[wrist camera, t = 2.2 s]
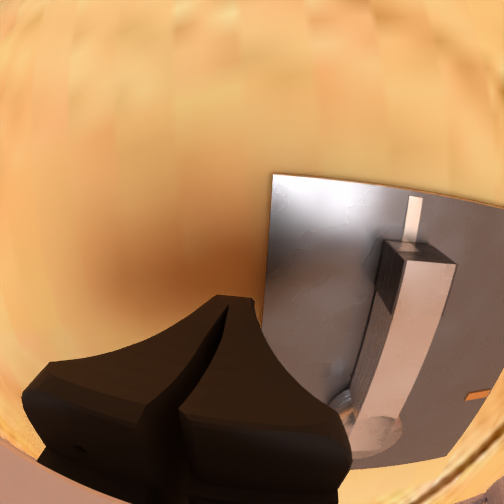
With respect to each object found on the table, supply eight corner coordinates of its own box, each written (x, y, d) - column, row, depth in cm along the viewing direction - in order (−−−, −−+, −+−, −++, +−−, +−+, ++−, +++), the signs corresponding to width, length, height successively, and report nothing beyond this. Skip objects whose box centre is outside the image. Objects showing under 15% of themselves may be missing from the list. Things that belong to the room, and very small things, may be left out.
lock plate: (250, 456, 18) (248, 468, 16) (273, 172, 12) (273, 174, 11) (442, 447, 16) (446, 457, 15) (542, 217, 11) (554, 222, 10)
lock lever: (380, 427, 14) (387, 456, 12) (320, 429, 14) (322, 460, 12) (445, 246, 11) (472, 266, 9) (367, 238, 11) (385, 258, 9)
